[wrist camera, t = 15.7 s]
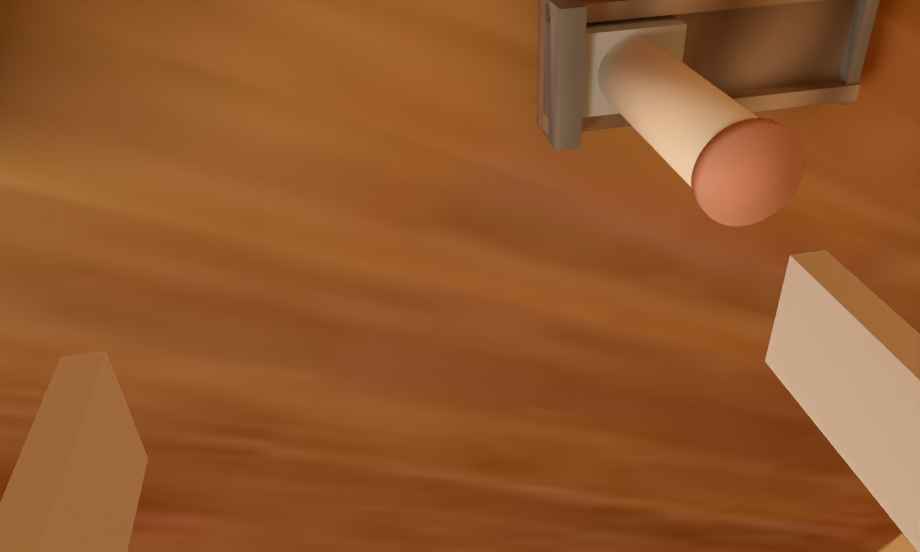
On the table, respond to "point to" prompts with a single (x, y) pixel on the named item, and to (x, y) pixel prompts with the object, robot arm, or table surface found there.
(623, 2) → the track
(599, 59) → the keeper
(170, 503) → the table surface
